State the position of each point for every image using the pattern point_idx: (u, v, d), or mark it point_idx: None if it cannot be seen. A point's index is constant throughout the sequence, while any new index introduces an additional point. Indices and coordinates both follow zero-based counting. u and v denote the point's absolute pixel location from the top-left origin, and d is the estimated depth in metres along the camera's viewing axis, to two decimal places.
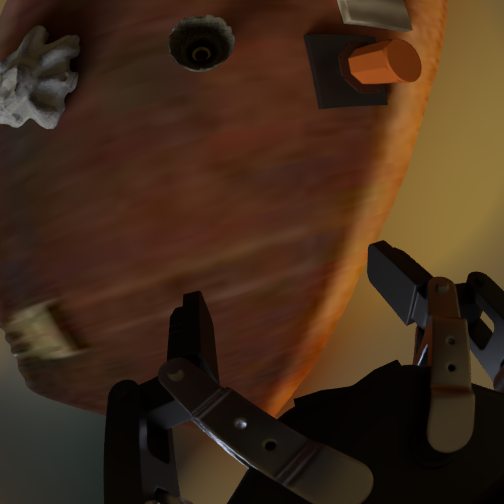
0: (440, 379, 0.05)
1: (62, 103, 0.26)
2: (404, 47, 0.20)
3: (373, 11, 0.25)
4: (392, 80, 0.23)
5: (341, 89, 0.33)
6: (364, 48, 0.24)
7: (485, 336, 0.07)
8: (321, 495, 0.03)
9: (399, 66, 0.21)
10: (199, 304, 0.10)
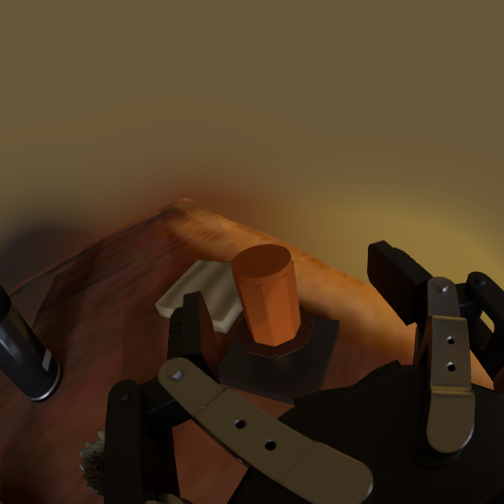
0: (440, 379, 0.05)
1: None
2: (245, 256, 0.25)
3: (224, 295, 0.40)
4: (285, 285, 0.23)
5: (299, 370, 0.27)
6: (244, 313, 0.27)
7: (485, 336, 0.07)
8: (321, 495, 0.03)
9: (265, 268, 0.23)
10: (199, 304, 0.10)
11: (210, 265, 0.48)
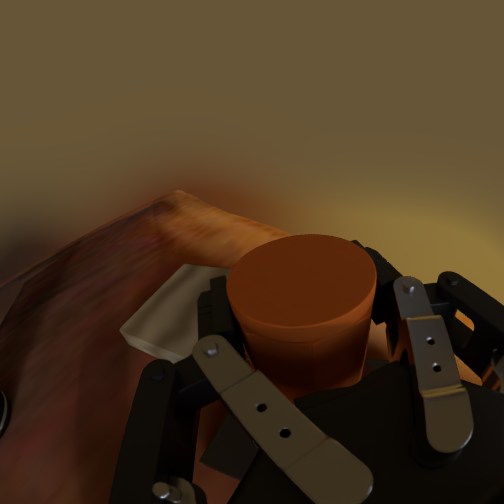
0: (428, 382, 0.05)
1: None
2: (262, 262, 0.11)
3: None
4: (363, 337, 0.08)
5: None
6: None
7: (463, 333, 0.08)
8: (321, 495, 0.03)
9: (318, 294, 0.08)
10: None
11: (200, 272, 0.33)
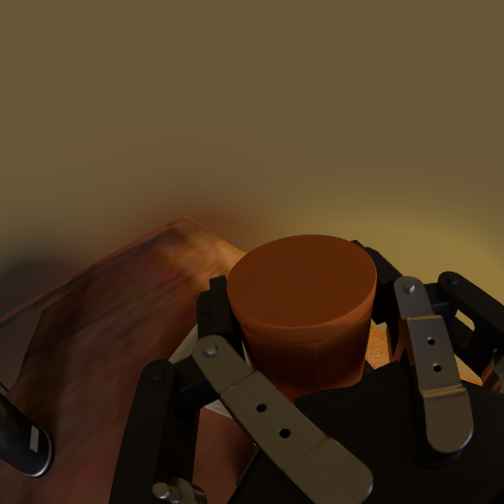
0: (428, 382, 0.05)
1: None
2: (262, 262, 0.11)
3: None
4: (363, 337, 0.08)
5: None
6: None
7: (463, 333, 0.08)
8: (321, 495, 0.03)
9: (318, 295, 0.08)
10: None
11: None
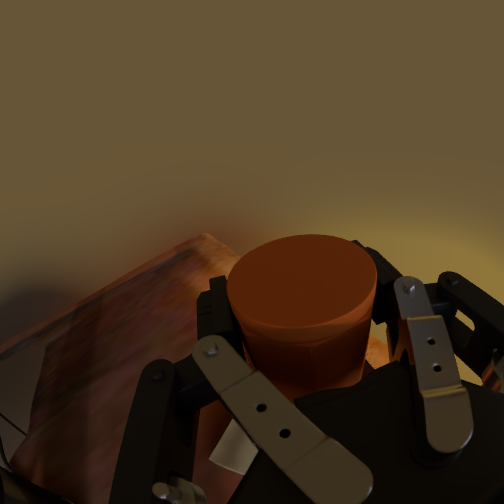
0: (428, 382, 0.05)
1: None
2: (262, 262, 0.11)
3: None
4: (364, 337, 0.08)
5: None
6: None
7: (463, 333, 0.08)
8: (321, 495, 0.03)
9: (318, 294, 0.08)
10: None
11: None
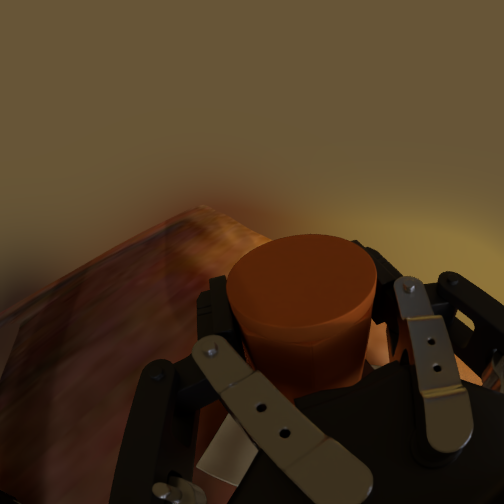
0: (428, 382, 0.05)
1: None
2: (261, 262, 0.11)
3: None
4: (363, 337, 0.08)
5: None
6: None
7: (463, 333, 0.08)
8: (321, 495, 0.03)
9: (318, 294, 0.08)
10: None
11: None
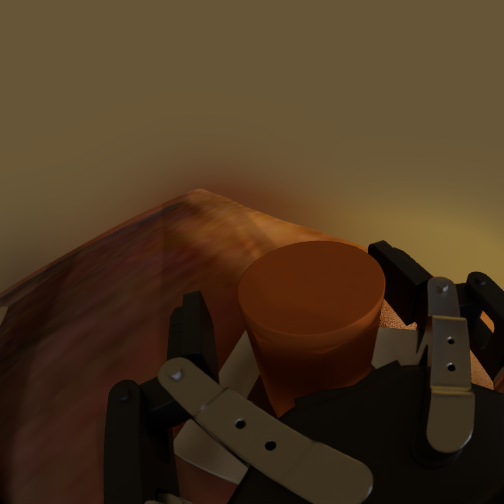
0: (440, 379, 0.05)
1: None
2: (272, 268, 0.11)
3: None
4: (372, 343, 0.08)
5: None
6: (264, 383, 0.12)
7: (485, 336, 0.07)
8: (321, 495, 0.03)
9: (329, 302, 0.08)
10: (199, 304, 0.10)
11: None
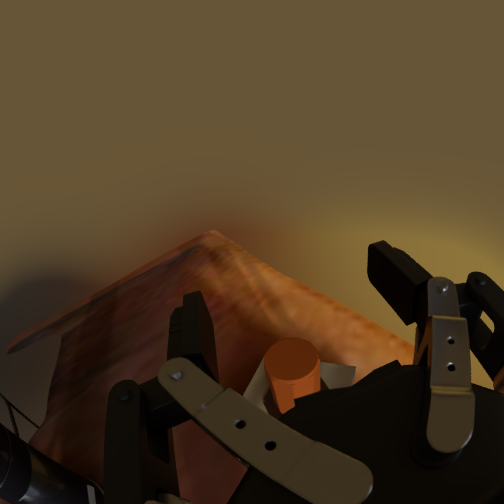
0: (440, 379, 0.05)
1: None
2: (276, 352, 0.26)
3: None
4: (312, 381, 0.24)
5: None
6: (272, 392, 0.28)
7: (485, 336, 0.07)
8: (321, 495, 0.03)
9: (295, 369, 0.24)
10: (199, 304, 0.10)
11: None
